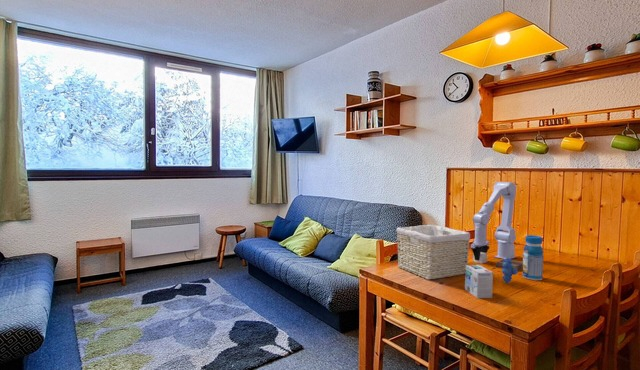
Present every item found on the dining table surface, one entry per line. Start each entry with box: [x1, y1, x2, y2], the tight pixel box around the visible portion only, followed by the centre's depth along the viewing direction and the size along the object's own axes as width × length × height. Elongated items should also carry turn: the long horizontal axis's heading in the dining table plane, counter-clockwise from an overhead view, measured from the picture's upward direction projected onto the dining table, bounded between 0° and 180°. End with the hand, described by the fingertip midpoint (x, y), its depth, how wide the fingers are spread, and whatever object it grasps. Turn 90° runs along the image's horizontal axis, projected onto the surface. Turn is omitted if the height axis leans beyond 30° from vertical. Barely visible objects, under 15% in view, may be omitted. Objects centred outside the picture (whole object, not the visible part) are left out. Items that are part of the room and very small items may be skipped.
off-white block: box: [472, 252, 488, 264], centre depth 196 cm, size 5×5×5 cm
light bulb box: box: [464, 264, 494, 299], centre depth 148 cm, size 11×7×11 cm, turn 5°
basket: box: [395, 224, 471, 281], centre depth 180 cm, size 27×27×22 cm
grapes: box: [501, 258, 519, 284], centre depth 160 cm, size 12×7×12 cm, turn 144°
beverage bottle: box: [522, 234, 544, 281], centre depth 168 cm, size 8×8×20 cm
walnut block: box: [495, 259, 523, 272], centre depth 186 cm, size 10×10×3 cm
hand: (479, 259), depth 196 cm, fingers closed on off-white block, 5 cm apart
